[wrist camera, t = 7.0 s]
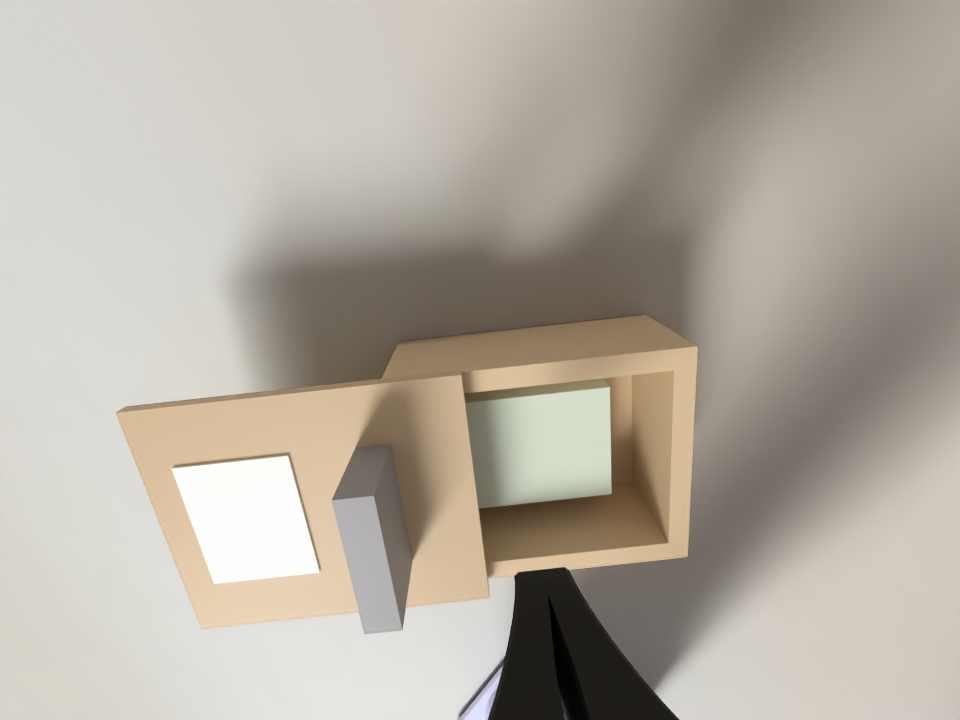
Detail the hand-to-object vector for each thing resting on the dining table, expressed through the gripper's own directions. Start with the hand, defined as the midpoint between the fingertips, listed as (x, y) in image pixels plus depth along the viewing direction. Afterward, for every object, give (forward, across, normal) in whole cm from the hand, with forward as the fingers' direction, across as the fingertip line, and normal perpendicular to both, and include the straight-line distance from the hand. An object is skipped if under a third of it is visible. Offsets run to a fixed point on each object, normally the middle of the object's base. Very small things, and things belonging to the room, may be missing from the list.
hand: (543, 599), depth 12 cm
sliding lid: (+5, +7, 0) cm, 9 cm away
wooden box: (+10, -1, 0) cm, 10 cm away
